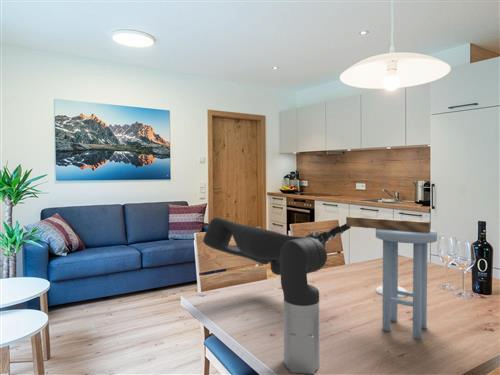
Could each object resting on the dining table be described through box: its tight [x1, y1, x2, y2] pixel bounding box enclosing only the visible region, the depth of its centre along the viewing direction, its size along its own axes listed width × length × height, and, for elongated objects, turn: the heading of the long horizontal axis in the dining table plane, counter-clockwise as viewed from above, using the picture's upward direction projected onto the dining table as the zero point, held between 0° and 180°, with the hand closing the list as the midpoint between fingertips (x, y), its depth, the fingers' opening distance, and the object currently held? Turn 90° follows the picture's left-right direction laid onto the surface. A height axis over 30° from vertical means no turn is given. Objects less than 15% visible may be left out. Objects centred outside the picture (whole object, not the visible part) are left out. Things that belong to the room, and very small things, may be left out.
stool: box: [375, 228, 438, 340], centre depth 111 cm, size 18×18×32 cm
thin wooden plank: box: [345, 215, 431, 233], centre depth 114 cm, size 26×3×3 cm, turn 53°
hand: (345, 226), depth 123 cm, fingers open, 8 cm apart
